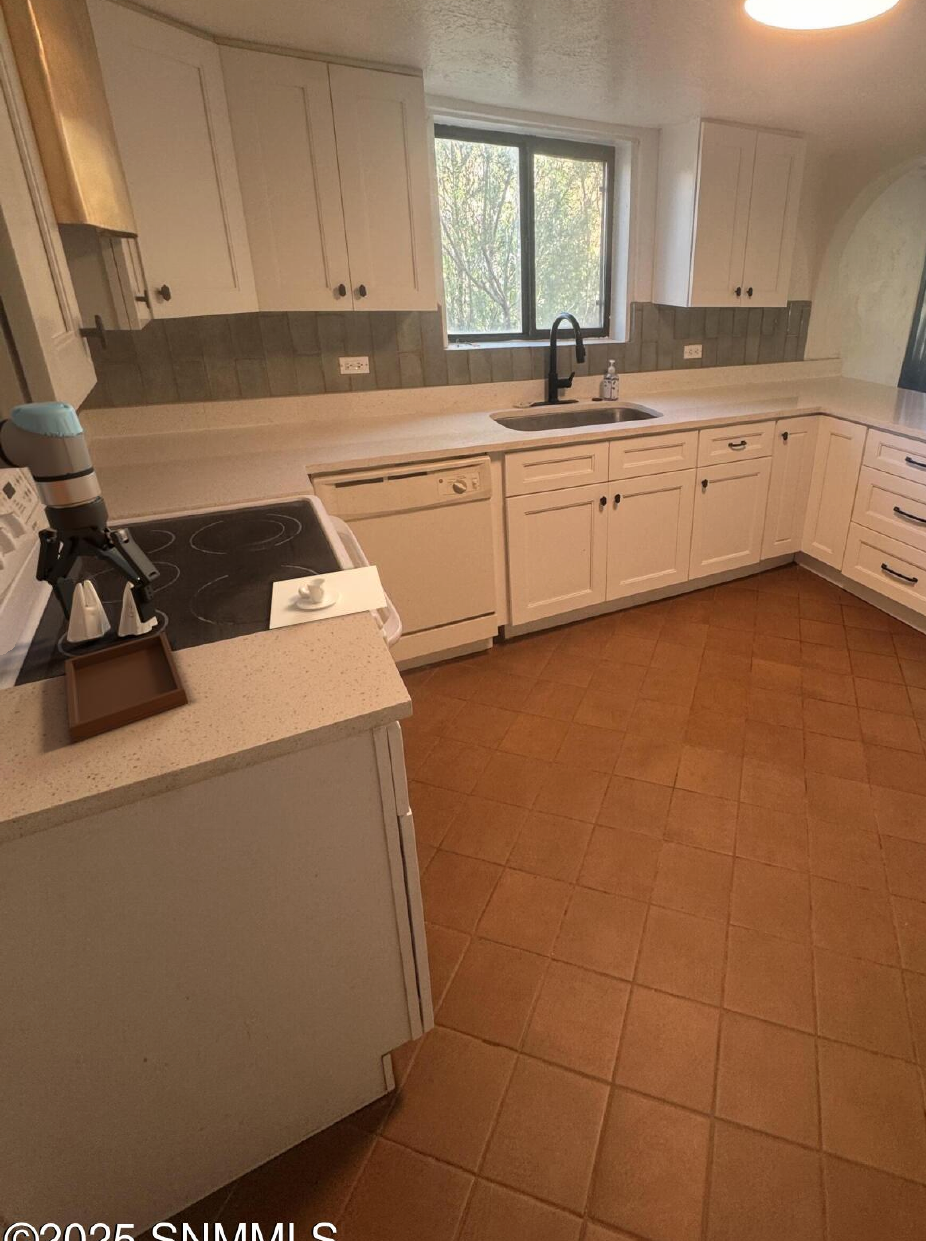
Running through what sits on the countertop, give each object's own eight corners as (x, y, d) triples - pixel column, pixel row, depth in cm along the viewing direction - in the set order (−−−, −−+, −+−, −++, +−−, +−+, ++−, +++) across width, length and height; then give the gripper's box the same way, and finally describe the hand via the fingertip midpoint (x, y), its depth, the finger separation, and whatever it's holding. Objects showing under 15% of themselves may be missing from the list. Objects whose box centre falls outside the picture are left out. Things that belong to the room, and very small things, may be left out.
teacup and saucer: (296, 594, 122) (292, 575, 121) (339, 586, 125) (336, 568, 124) (296, 614, 115) (292, 595, 113) (342, 606, 118) (339, 586, 116)
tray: (69, 673, 98) (64, 660, 97) (167, 644, 106) (164, 631, 105) (74, 742, 83) (69, 728, 82) (188, 702, 91) (184, 689, 90)
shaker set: (70, 652, 103) (49, 592, 99) (74, 640, 107) (54, 582, 103) (156, 632, 109) (140, 575, 105) (157, 621, 112) (142, 566, 108)
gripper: (163, 494, 101) (195, 609, 109) (23, 492, 104) (64, 604, 111) (127, 510, 94) (163, 631, 102) (-22, 507, 97) (24, 626, 104)
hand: (112, 617), depth 107 cm, fingers open, 13 cm apart
